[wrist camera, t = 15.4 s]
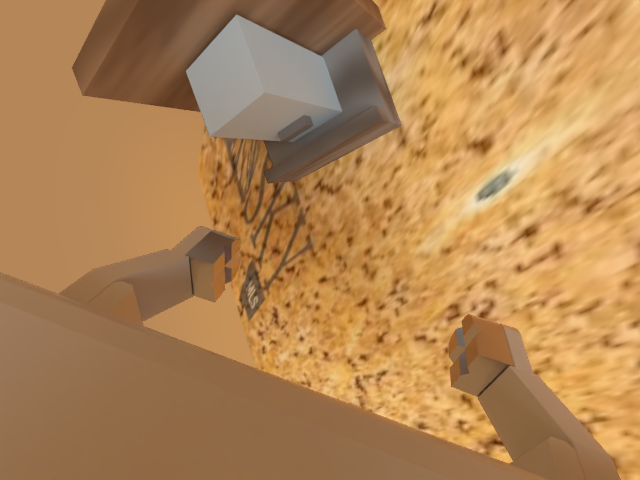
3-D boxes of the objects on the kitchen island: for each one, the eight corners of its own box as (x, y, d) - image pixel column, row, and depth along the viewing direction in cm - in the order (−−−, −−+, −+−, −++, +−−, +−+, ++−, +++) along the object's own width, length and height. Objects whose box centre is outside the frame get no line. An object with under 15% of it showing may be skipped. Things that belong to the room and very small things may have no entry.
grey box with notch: (345, 120, 27) (268, 104, 19) (296, 149, 31) (213, 147, 23) (323, 57, 27) (236, 14, 19) (276, 93, 30) (185, 71, 22)
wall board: (417, 116, 27) (287, 67, 12) (287, 185, 36) (124, 204, 21) (378, 6, 26) (196, -180, 12) (257, 104, 36) (71, 67, 21)
